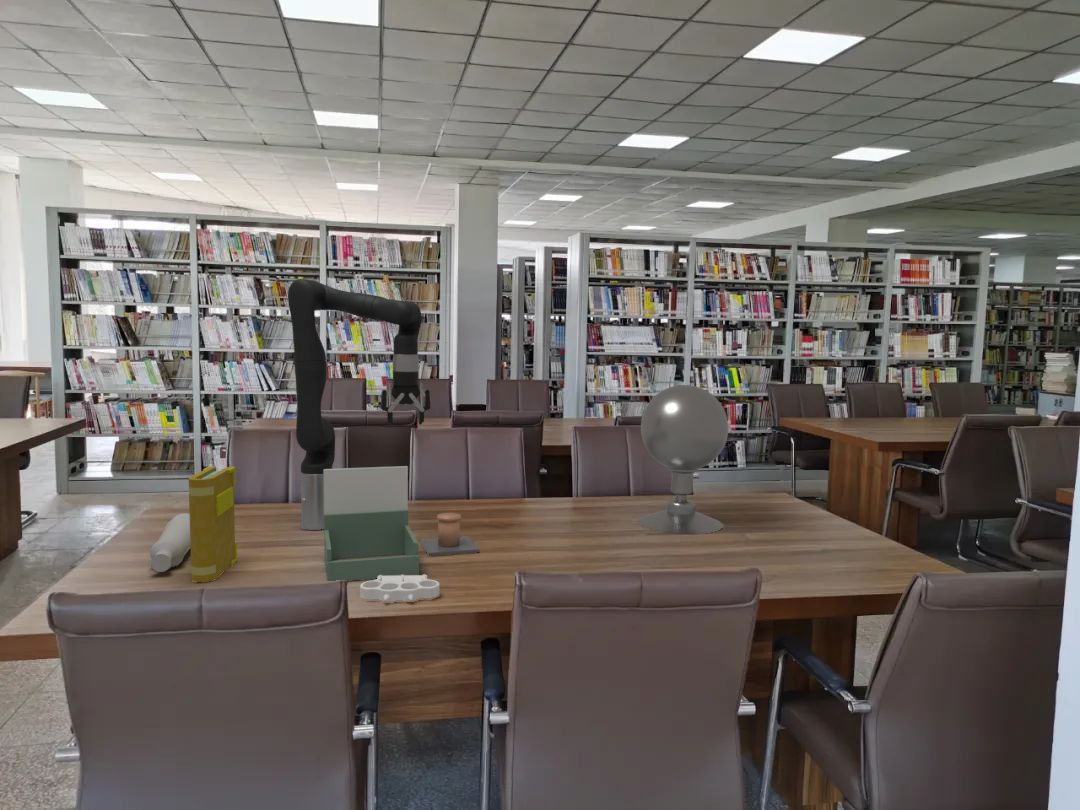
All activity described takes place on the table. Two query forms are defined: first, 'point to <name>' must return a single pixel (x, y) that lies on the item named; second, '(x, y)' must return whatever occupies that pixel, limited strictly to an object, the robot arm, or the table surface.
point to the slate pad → (464, 547)
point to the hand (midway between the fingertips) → (405, 424)
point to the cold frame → (368, 523)
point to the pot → (448, 529)
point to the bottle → (172, 544)
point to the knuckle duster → (400, 588)
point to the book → (212, 523)
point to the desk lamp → (683, 452)
